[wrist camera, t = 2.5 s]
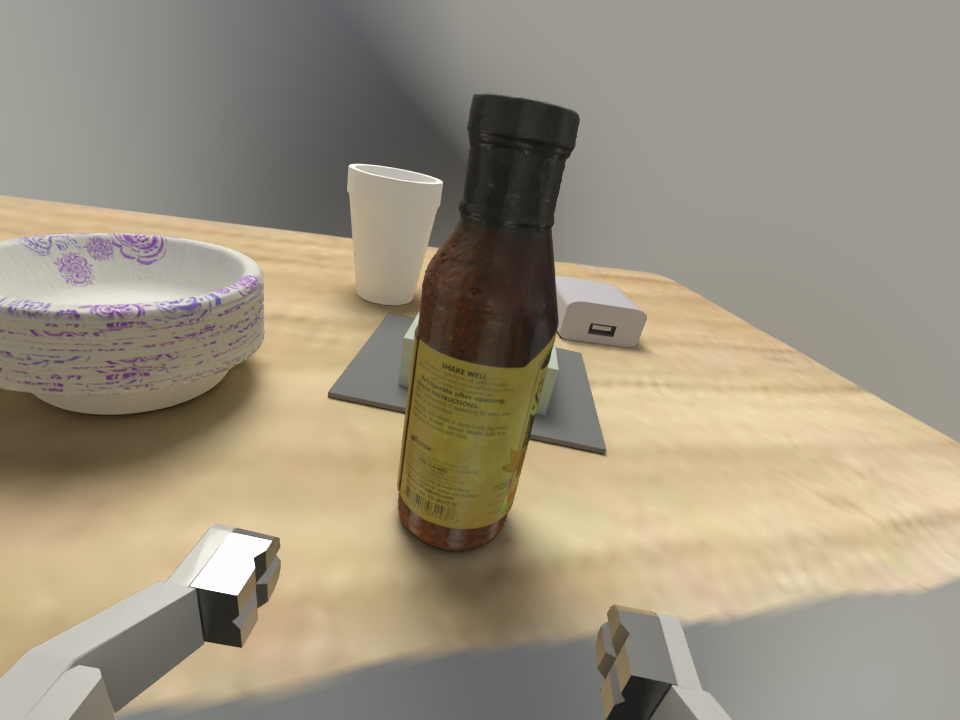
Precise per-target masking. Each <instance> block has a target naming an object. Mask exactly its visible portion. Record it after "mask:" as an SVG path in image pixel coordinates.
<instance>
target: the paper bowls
mask: <svg viewBox="0 0 960 720" xmlns="http://www.w3.org/2000/svg"><path fill="white" fill-rule="evenodd" d="M263 290H264V283H263V273H262V271H261V269H260V268H259V266H258V265H257V263H256V262H255V261H253V260H252V259H251V258H249V257H247V256H246V255H244V254H242V253H240V252H237V251H235V250H232V249H229V248H226V247H223V246H219V245H215V244H210V243H206V242H201V241H196V240H190V239H184V238H177V237H168V236H158V235H145V234H125V233H78V234H55V235H42V236H33V237H25V238H17V239H10V240H4V241H0V388H2V389H5V390H10V391H17V392H26V393H32V394H34V395H35V396H36V397H38V398H39V399H41V400H43V401H45V402H47V403H49V404H51V405H53V406H56V407H59V408H62V409H65V410H70V411H74V412H80V413H87V414H98V415H119V414H133V413H141V412H148V411H154V410H158V409H163V408H167V407H170V406H174V405H177V404H180V403H183V402H186V401H188V400H190V399H193V398H195V397H197V396H199V395H201V394H203V393H205V392H206V391H208V390H210V389H211V388H213V387H214V386H215V385H216V384H218V383H219V382H220V381H221V380H222V379H223V378H224V376H225V375H226V374H227V372H228V370H229V369H231V368H233V367H234V366H236V365H237V364H239V363H241V362H243V361H244V360H246V359H247V358H249V357H250V356H252V355H253V354H254V353H255V352H256V351H257V350H258V349H259V347H260V345H261V343H262V341H263V339H264V333H265V332H264V305H263V301H264V296H263V295H264V294H263Z"/></svg>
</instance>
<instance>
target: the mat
mask: <svg viewBox="0 0 960 720" xmlns="http://www.w3.org/2000/svg"><path fill="white" fill-rule="evenodd" d="M414 320H415V318H410V317H406V316H401V315H396V314H391V313H388V315H387V316H386V317H385V319H384V320H383V321H382V323H381V324H380V325H379V326H378V328H377V329H376V330H375V332H374V333H373V334H372V336H371V337H370V338H369V339H368V341H367V342H366V343H365V345H364V346H363V347H362V349H361V350H360V351H359V353H358V354H357V355H356V356H355V358H354V359H353V360H352V362H351V363H350V364H349V366H348V367H347V368H346V369H345V371H344V372H343V373H342V375H341V376H340V377H339V379H338V380H337V381H336V382H335V384H334V385H333V386H332V388H331V389H330V390H329V392H328V397H332V398H337V399H341V400H346V401H351V402H356V403H361V404H366V405H370V406H375V407H380V408H385V409H390V410H395V411H399V412H404V413H405V412H406V403H407V394H408V387H406V386H401V385H398V381H399V372H400V364H401V356H402V348H403V339H404V336H405V335H406V333H407V331H408V330H409V328H410V326H411V325H412V323H413V321H414ZM556 355H557V362H558V369H559V370H558V374H557V377H556V380H555V384H554V387H553V390H552V394H551V397H550V400H549V404H548V407H547V410H546V414H545V415H541V414H535V419H534V423H533V427H532V431H531V434H530V439H535V440H539V441H544V442H549V443H554V444H559V445H564V446H568V447H573V448H578V449H583V450H588V451H592V452H597V453H602V454H605V451H606V447H605V443H604V439H603V436H602V432H601V428H600V424H599V420H598V416H597V412H596V409H595V405H594V401H593V397H592V393H591V389H590V385H589V382H588V378H587V374H586V370H585V366H584V362H583V358H582V355H581V353H579V352H574V351H569V350H564V349H559V348H556Z"/></svg>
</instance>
